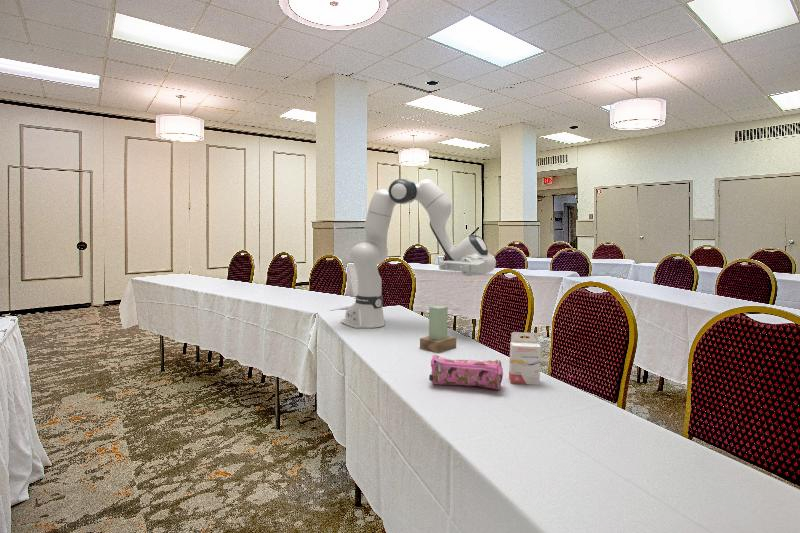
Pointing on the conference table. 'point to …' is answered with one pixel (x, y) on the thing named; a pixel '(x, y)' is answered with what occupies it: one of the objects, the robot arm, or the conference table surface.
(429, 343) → the walnut block
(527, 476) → the conference table surface
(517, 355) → the ink cartridge box
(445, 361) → the pencil case
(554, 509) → the conference table surface
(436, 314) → the sage pillar block
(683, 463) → the conference table surface
